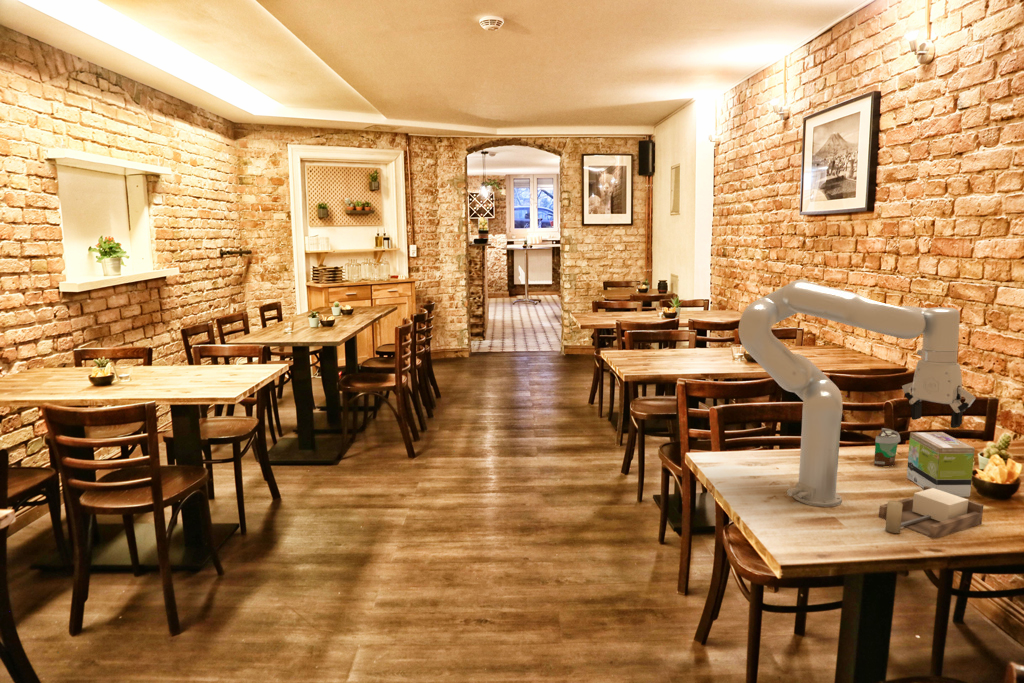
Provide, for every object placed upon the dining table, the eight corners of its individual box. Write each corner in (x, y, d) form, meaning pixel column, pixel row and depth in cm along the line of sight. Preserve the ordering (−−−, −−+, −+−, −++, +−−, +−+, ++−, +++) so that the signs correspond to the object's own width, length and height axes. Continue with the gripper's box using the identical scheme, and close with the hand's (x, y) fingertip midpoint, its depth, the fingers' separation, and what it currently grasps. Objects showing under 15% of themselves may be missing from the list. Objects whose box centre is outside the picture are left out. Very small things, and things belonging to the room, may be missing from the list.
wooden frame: (934, 538, 159) (936, 519, 158) (878, 516, 172) (880, 498, 171) (981, 523, 168) (983, 504, 167) (924, 503, 180) (926, 486, 180)
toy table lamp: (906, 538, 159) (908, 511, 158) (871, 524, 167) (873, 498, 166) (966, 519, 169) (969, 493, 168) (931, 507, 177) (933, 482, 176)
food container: (895, 470, 206) (898, 439, 205) (873, 466, 210) (875, 436, 208) (901, 460, 216) (903, 430, 214) (879, 456, 219) (882, 427, 218)
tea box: (904, 478, 200) (908, 430, 197) (938, 478, 199) (943, 431, 197) (934, 497, 185) (939, 446, 182) (971, 497, 184) (976, 446, 182)
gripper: (896, 354, 173) (893, 418, 175) (968, 363, 157) (963, 432, 160) (913, 351, 176) (910, 413, 178) (985, 359, 161) (980, 428, 163)
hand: (935, 422), depth 169 cm, fingers open, 9 cm apart
